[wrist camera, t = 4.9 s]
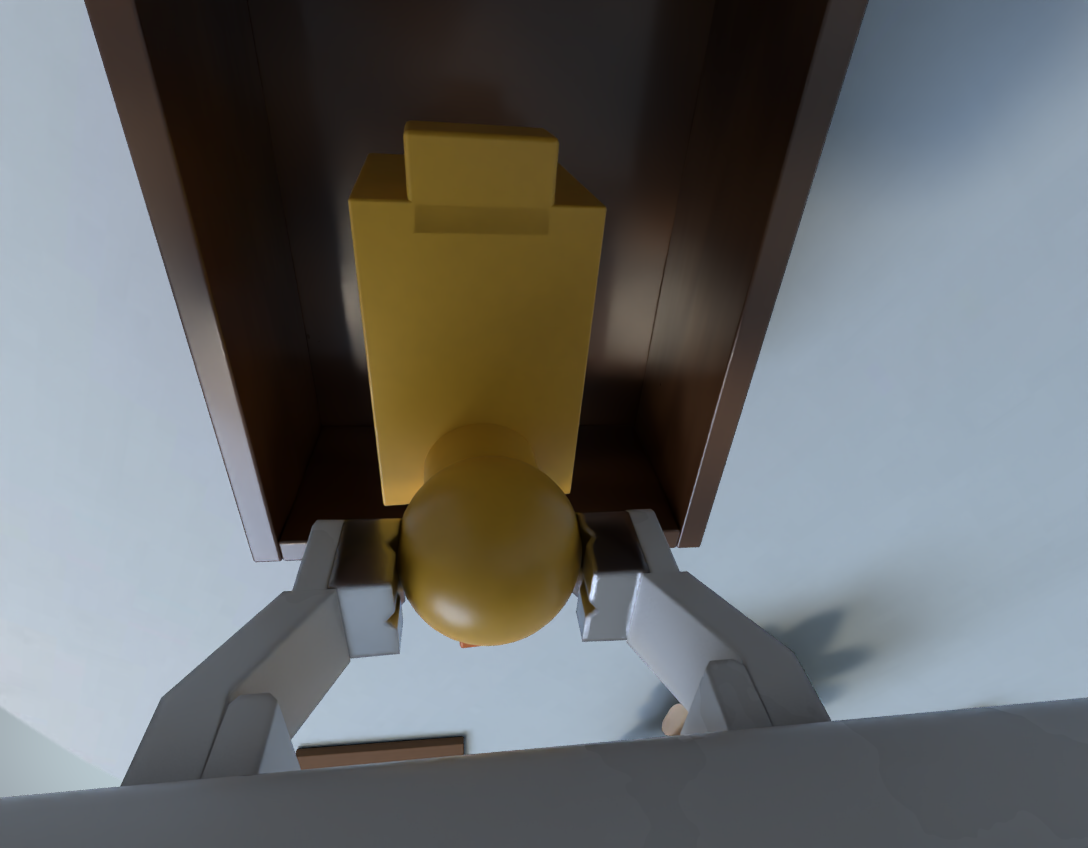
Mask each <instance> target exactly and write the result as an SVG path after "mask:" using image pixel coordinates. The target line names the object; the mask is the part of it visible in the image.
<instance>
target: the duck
mask: <svg viewBox="0 0 1088 848" xmlns="http://www.w3.org/2000/svg"><path fill="white" fill-rule="evenodd" d="M403 141H404V155H403V154H382V153H369V154H368V156H367V158H366V160H365V163H364V165H363V167H362V169H361V172H360V174H359V176H358V179H357V181H356V183H355V185H354V188H353V190H352V192H351V194H350V197H349V199H348V206H349V214H350V223H351V231H352V240H353V248H354V257H355V266H356V274H357V283H358V291H359V300H360V308H361V317H362V326H363V334H364V343H365V351H366V360H367V368H368V377H369V386H370V394H371V403H372V411H373V420H374V428H375V437H376V446H377V454H378V463H379V471H380V480H381V488H382V497H383V504H384V505H385V506H389V505H404V504H409V505H408V507H407V508H406V510H405V512H404V515H403V518H402V521H401V526H400V537H399V546H398V553H397V570H398V575H399V579H400V583H401V585H402V588H403V590H404V592H405V595H406V597H407V599H408V600H409V602H410V603H411V605H412V606H413V608H414V609H415V611H416V612H417V613H418V615H419V616H420V617H421V618H422V619H423V620H424V621H425V622H426V623H427V624H428V625H430V626H431V627H432V628H434V629H435V630H437V631H438V632H440V633H441V634H443V635H445V636H447V637H449V638H451V639H453V640H456V641H459V642H460V646H461V648H468V647H476V646H495V645H503V644H508V643H512V642H515V641H518V640H521V639H523V638H526V637H528V636H530V635H532V634H534V633H535V632H537V631H538V630H540V629H541V628H542V627H544V626H545V625H546V624H548V623H549V622H550V621H551V620H552V619H553V618H554V617H555V616H556V615H557V614H558V613H559V611H560V610H561V609H562V608H563V606H564V605H565V604H566V602H567V601H568V599H569V597H570V595H571V593H572V591H573V589H574V587H575V585H576V582H577V579H578V576H579V572H580V568H581V561H582V542H581V537H580V530H579V524H578V520H577V516H576V513H575V511H574V509H573V507H572V505H571V503H570V501H569V499H568V498H567V496H566V495H565V494H569V493H570V491H571V484H572V476H573V468H574V460H575V452H576V445H577V437H578V429H579V421H580V413H581V406H582V398H583V390H584V382H585V374H586V366H587V359H588V351H589V343H590V335H591V327H592V319H593V312H594V304H595V296H596V288H597V280H598V272H599V265H600V257H601V249H602V241H603V233H604V226H605V218H606V210H607V209H606V206H605V205H604V204H602V203H601V202H600V201H599V200H598V199H597V198H596V197H595V196H594V195H593V194H592V193H591V192H590V191H588V190H587V189H586V188H585V187H584V186H583V185H582V184H581V183H580V182H579V181H578V180H577V179H575V178H574V177H573V176H572V175H571V174H570V173H569V172H568V171H567V170H566V169H565V168H564V167H562V166H561V165H560V164H559V163H558V153H559V141H558V139H557V138H556V137H555V136H553V135H552V134H551V133H549V132H548V131H547V130H545V129H543V128H533V127H516V126H499V125H482V124H465V123H447V122H430V121H413V120H410V121H408V122H406V124H405V128H404V133H403Z"/></svg>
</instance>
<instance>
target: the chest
mask: <svg viewBox="0 0 1088 848" xmlns="http://www.w3.org/2000/svg"><path fill="white" fill-rule="evenodd" d="M868 1H869V0H84V2H85V5H86V8H87V12H88V15H89V18H90V22H91V25H92V28H93V31H94V35H95V38H96V41H97V45H98V48H99V51H100V55H101V58H102V61H103V64H104V68H105V71H106V74H107V78H108V81H109V84H110V88H111V91H112V94H113V97H114V101H115V104H116V107H117V111H118V114H119V117H120V121H121V124H122V127H123V130H124V134H125V137H126V140H127V144H128V147H129V150H130V154H131V157H132V160H133V164H134V167H135V170H136V173H137V177H138V180H139V183H140V187H141V190H142V193H143V197H144V200H145V203H146V206H147V210H148V213H149V216H150V220H151V223H152V226H153V230H154V233H155V236H156V239H157V243H158V246H159V249H160V253H161V256H162V259H163V263H164V266H165V269H166V273H167V276H168V279H169V282H170V286H171V289H172V292H173V296H174V299H175V302H176V306H177V309H178V312H179V315H180V319H181V322H182V325H183V329H184V332H185V335H186V339H187V342H188V345H189V348H190V352H191V355H192V358H193V362H194V365H195V368H196V372H197V375H198V378H199V381H200V385H201V388H202V391H203V395H204V398H205V401H206V405H207V408H208V411H209V415H210V418H211V421H212V424H213V428H214V431H215V434H216V438H217V441H218V444H219V448H220V451H221V454H222V457H223V461H224V464H225V467H226V471H227V474H228V477H229V481H230V484H231V487H232V490H233V494H234V497H235V500H236V504H237V507H238V510H239V514H240V517H241V520H242V524H243V527H244V530H245V533H246V537H247V540H248V543H249V547H250V550H251V553H252V557H253V560H254V561H255V562H270V561H281V560H282V558H283V560H285V561H293V560H302V558H303V554H304V551H305V548H306V545H307V542H308V538H309V535H310V532H311V529H312V526H313V525H314V523H315V522H316V521H317V520H346V519H394V518H401V519H402V518H403V515H404V512H405V510H406V508H407V507H408V505H409V504H404V505H389V506H385V505H384V504H383V497H382V488H381V480H380V471H379V463H378V454H377V446H376V437H375V428H374V420H373V411H372V403H371V394H370V386H369V377H368V368H367V360H366V351H365V343H364V334H363V326H362V317H361V308H360V300H359V291H358V283H357V274H356V266H355V257H354V248H353V240H352V231H351V223H350V214H349V206H348V199H349V197H350V194H351V192H352V190H353V188H354V185H355V183H356V181H357V179H358V176H359V174H360V172H361V169H362V167H363V165H364V163H365V160H366V158H367V156H368V154H369V153H382V154H403V155H404V141H403V133H404V128H405V124H406V122H408V121H410V120H413V121H430V122H447V123H465V124H482V125H499V126H516V127H533V128H543V129H545V130H547V131H548V132H549V133H551V134H552V135H553V136H555V137H556V138H557V139H558V141H559V153H558V163H559V164H560V165H561V166H562V167H564V168H565V169H566V170H567V171H568V172H569V173H570V174H571V175H572V176H573V177H574V178H575V179H577V180H578V181H579V182H580V183H581V184H582V185H583V186H584V187H585V188H586V189H587V190H588V191H590V192H591V193H592V194H593V195H594V196H595V197H596V198H597V199H598V200H599V201H600V202H601V203H602V204H604V205H605V206H606V209H607V210H606V218H605V226H604V233H603V241H602V249H601V257H600V265H599V272H598V280H597V288H596V296H595V304H594V312H593V319H592V327H591V335H590V343H589V351H588V359H587V366H586V374H585V382H584V390H583V398H582V406H581V413H580V421H579V429H578V437H577V445H576V452H575V460H574V468H573V476H572V484H571V491H570V493H569V494H565V495H566V496H567V498H568V499H569V501H570V503H571V505H572V507H573V509H574V511H575V513H576V512H596V511H620V510H624V511H626V510H636V509H652V510H653V511H654V512H655V514H656V517H657V519H658V521H659V524H660V526H661V529H662V531H663V533H664V536H665V538H666V540H667V543H668V545H669V547H670V548H674V547H676V546H677V547H678V548H688V547H700V545H701V542H702V538H703V535H704V532H705V529H706V525H707V522H708V519H709V516H710V512H711V509H712V506H713V503H714V499H715V496H716V493H717V490H718V486H719V483H720V480H721V477H722V474H723V470H724V467H725V464H726V461H727V457H728V454H729V451H730V448H731V444H732V441H733V438H734V435H735V431H736V428H737V425H738V422H739V418H740V415H741V412H742V409H743V406H744V402H745V399H746V396H747V393H748V389H749V386H750V383H751V380H752V376H753V373H754V370H755V367H756V363H757V360H758V357H759V354H760V350H761V347H762V344H763V341H764V338H765V334H766V331H767V328H768V325H769V321H770V318H771V315H772V312H773V308H774V305H775V302H776V299H777V295H778V292H779V289H780V286H781V282H782V279H783V276H784V273H785V270H786V266H787V263H788V260H789V257H790V253H791V250H792V247H793V244H794V240H795V237H796V234H797V231H798V227H799V224H800V221H801V218H802V214H803V211H804V208H805V205H806V202H807V198H808V195H809V192H810V189H811V185H812V182H813V179H814V176H815V172H816V169H817V166H818V163H819V159H820V156H821V153H822V150H823V146H824V143H825V140H826V137H827V134H828V130H829V127H830V124H831V121H832V117H833V114H834V111H835V108H836V104H837V101H838V98H839V95H840V91H841V88H842V85H843V82H844V78H845V75H846V72H847V69H848V66H849V62H850V59H851V56H852V53H853V49H854V46H855V43H856V40H857V36H858V33H859V30H860V27H861V23H862V20H863V17H864V14H865V10H866V7H867V4H868Z"/></svg>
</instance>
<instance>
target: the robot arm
mask: <svg viewBox="0 0 1088 848" xmlns="http://www.w3.org/2000/svg"><path fill="white" fill-rule="evenodd" d="M576 516H577V520H578V524H579V530H580V537H581V542H582V561H581V568H580V572H579V576H578V579H577V582H576V585H575V587H574V589H573V591H572V593H574V594H575V595H576V596H577V597H578V602H577V609H576V613H577V618H578V623H579V628H580V632H581V637H582V642H588V641H614V640H627V643H628V644H629V646H630V647H631V648H632V649H633V650H634V651H635V652H636V653H637V655H638V656H639V657H640V658H641V659H642V660H643V661H644V662H645V664H646V665H647V666H648V667H649V668H650V669H651V670H652V671H653V673H654V674H655V675H656V676H657V677H658V678H659V679H660V680H661V682H662V683H663V684H664V685H665V686H666V687H667V688H668V690H669V691H670V692H671V693H672V694H673V695H674V696H675V697H676V699H677V700H678V701H679V702H680V703H681V704H682V705H683V706H684V708H685V709H686V710H687V711H688V715H687V718H686V720H685V723H684V725H683V728H682V730H681V733H680V735H675V736H665V737H654V738H643V739H632V740H621V741H610V742H600V743H589V744H578V745H567V746H556V747H546V748H535V749H524V750H513V751H502V752H491V753H480V754H470V755H459V756H448V757H437V758H426V759H415V760H405V761H394V762H383V763H372V764H361V765H350V766H339V767H328V768H317V769H306V770H301V768H300V765H299V762H298V759H297V757H296V754H295V751H294V748H293V745H292V742H291V739H292V738H293V737H294V735H295V734H296V733H297V731H298V730H299V729H300V727H301V726H302V725H303V723H304V722H305V721H306V719H307V718H308V717H309V715H310V714H311V713H312V711H313V710H314V709H315V707H316V706H317V705H318V704H319V702H320V701H321V700H322V698H323V697H324V696H325V694H326V693H327V692H328V690H329V689H330V688H331V686H332V685H333V684H334V682H335V681H336V680H337V678H338V677H339V676H340V674H341V673H342V672H343V670H344V669H345V668H346V667H347V665H348V664H349V663H350V658H360V657H370V656H381V655H392V654H400V645H401V636H402V627H403V616H402V606H401V605H402V604H403V603H404V602H405V596H406V595H405V592H404V590H403V588H402V585H401V583H400V579H399V575H398V570H397V553H398V546H399V537H400V526H401V521H402V519H401V518H394V519H346V520H317V521H316V522H315V523H314V525H313V526H312V529H311V532H310V535H309V538H308V542H307V545H306V548H305V551H304V554H303V558H302V561H301V564H300V567H299V570H298V574H297V577H296V580H295V583H294V587H293V590H292V591H284V592H282V593H281V594H280V595H279V596H278V597H276V598H275V599H274V600H273V601H272V602H271V603H270V604H268V605H267V606H266V607H265V608H264V609H263V610H261V611H260V612H259V613H258V614H257V615H256V616H255V617H253V618H252V619H251V620H250V621H249V622H248V623H247V624H245V625H244V626H243V627H242V628H241V629H240V630H239V631H237V632H236V633H235V634H234V635H233V636H232V637H231V638H229V639H228V640H227V641H226V642H225V643H224V644H223V645H221V646H220V647H219V648H218V649H217V650H216V651H214V652H213V653H212V654H211V655H210V656H209V657H208V658H206V659H205V660H204V661H203V662H202V663H201V664H200V665H198V666H197V667H196V668H195V669H194V670H193V671H192V672H190V673H189V674H188V675H187V676H186V677H185V678H184V679H182V680H181V681H180V682H179V683H178V684H177V685H176V686H174V687H173V688H172V689H171V690H170V691H169V692H167V693H166V694H165V695H164V696H163V697H162V698H161V700H160V702H159V704H158V706H157V708H156V710H155V713H154V715H153V717H152V719H151V721H150V723H149V726H148V728H147V730H146V732H145V734H144V736H143V739H142V741H141V743H140V745H139V747H138V749H137V752H136V754H135V756H134V758H133V760H132V762H131V764H130V767H129V769H128V771H127V773H126V775H125V777H124V780H123V782H122V784H121V786H120V787H111V788H99V789H89V790H78V791H67V792H56V793H46V794H34V795H23V796H12V797H1V798H0V848H1088V698H1077V699H1067V700H1056V701H1045V702H1034V703H1023V704H1013V705H1002V706H991V707H980V708H969V709H958V710H947V711H936V712H925V713H915V714H904V715H893V716H882V717H871V718H860V719H849V720H838V721H831V719H830V717H829V715H828V714H827V712H826V710H825V708H824V706H823V704H822V703H821V701H820V699H819V697H818V695H817V694H816V692H815V690H814V688H813V686H812V684H811V683H810V681H809V679H808V677H807V675H806V673H805V672H804V670H803V668H802V666H801V664H800V662H799V661H798V659H797V657H796V655H795V653H794V652H792V651H791V650H790V649H789V648H787V647H786V646H785V645H783V644H782V643H781V642H779V641H778V640H777V639H775V638H774V637H773V636H771V635H770V634H769V633H767V632H766V631H765V630H764V629H762V628H761V627H760V626H758V625H757V624H756V623H754V622H753V621H752V620H750V619H749V618H748V617H746V616H745V615H744V614H742V613H741V612H740V611H739V610H737V609H736V608H735V607H733V606H732V605H731V604H729V603H728V602H727V601H725V600H724V599H723V598H721V597H720V596H719V595H718V594H716V593H715V592H714V591H712V590H711V589H710V588H708V587H707V586H706V585H704V584H703V583H702V582H700V581H699V580H698V579H696V578H695V577H694V576H693V575H691V574H690V573H689V572H687V571H686V572H680V571H679V569H678V566H677V564H676V562H675V559H674V557H673V554H672V552H671V550H670V547H669V545H668V543H667V540H666V538H665V536H664V533H663V531H662V529H661V526H660V524H659V521H658V519H657V517H656V514H655V512H654V511H653V510H652V509H636V510H626V511H624V510H620V511H596V512H576Z"/></svg>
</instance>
